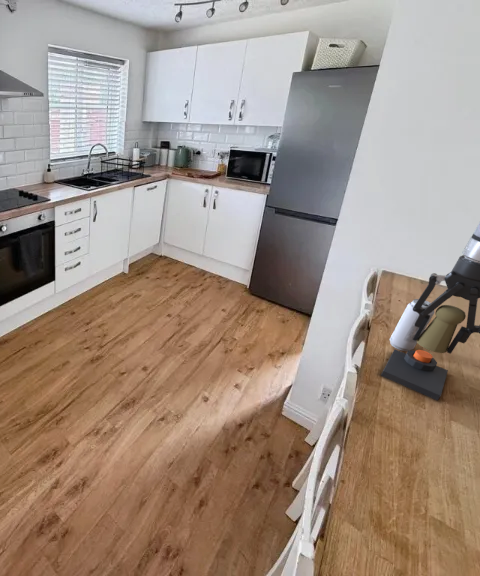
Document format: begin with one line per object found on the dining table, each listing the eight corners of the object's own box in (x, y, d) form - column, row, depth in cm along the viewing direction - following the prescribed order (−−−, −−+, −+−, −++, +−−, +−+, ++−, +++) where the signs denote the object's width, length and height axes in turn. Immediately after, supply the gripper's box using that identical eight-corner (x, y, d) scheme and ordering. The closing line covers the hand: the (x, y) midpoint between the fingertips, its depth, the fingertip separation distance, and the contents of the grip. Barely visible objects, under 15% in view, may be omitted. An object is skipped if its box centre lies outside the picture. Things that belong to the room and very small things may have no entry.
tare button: (414, 353, 102) (417, 348, 101) (430, 359, 100) (433, 354, 99) (412, 358, 100) (414, 353, 99) (428, 365, 98) (431, 360, 97)
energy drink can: (402, 340, 113) (425, 298, 106) (417, 352, 108) (443, 309, 100) (383, 339, 113) (405, 297, 105) (398, 352, 107) (422, 308, 100)
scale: (392, 352, 107) (397, 342, 106) (445, 373, 100) (451, 363, 98) (380, 375, 98) (386, 365, 96) (437, 400, 91) (444, 390, 89)
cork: (418, 335, 96) (440, 298, 90) (448, 346, 92) (472, 309, 86) (414, 344, 92) (435, 307, 87) (444, 356, 88) (469, 318, 83)
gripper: (545, 270, 77) (484, 356, 88) (431, 243, 89) (390, 322, 100) (546, 280, 72) (482, 370, 83) (426, 250, 84) (383, 333, 95)
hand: (432, 344), depth 92 cm, fingers closed on cork, 6 cm apart
